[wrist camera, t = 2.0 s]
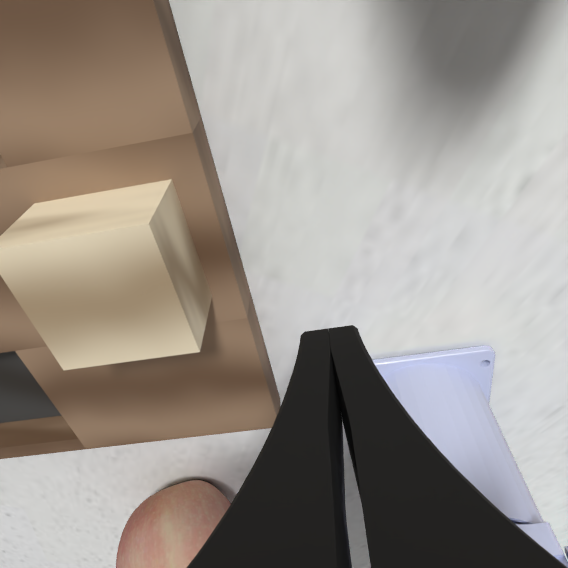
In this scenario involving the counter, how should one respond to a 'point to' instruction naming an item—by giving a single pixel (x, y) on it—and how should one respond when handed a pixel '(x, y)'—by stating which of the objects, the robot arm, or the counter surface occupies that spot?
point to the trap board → (108, 176)
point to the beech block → (109, 276)
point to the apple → (171, 526)
